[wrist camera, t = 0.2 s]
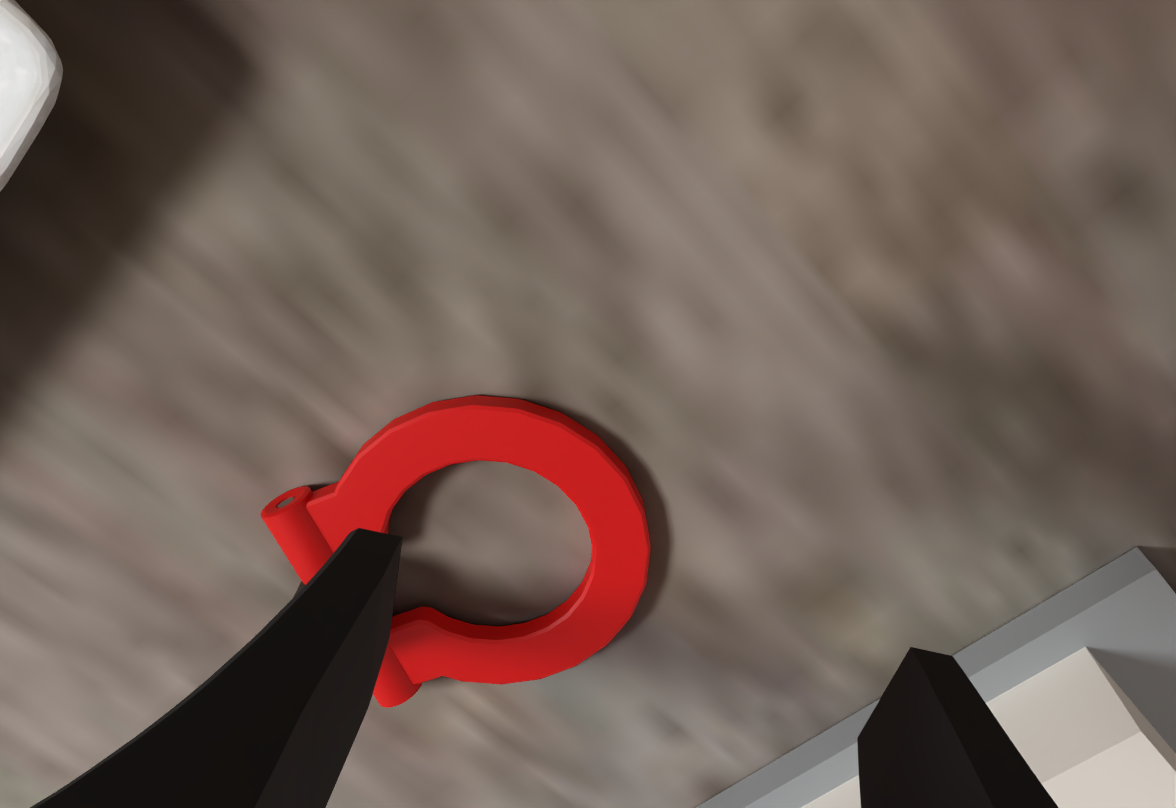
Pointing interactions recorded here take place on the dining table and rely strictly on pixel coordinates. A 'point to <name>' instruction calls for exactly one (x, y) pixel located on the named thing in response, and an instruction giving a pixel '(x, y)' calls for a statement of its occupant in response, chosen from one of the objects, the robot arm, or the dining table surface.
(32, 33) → the square plate
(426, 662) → the tow hook
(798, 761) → the slotted block
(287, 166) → the dining table surface
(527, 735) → the dining table surface
